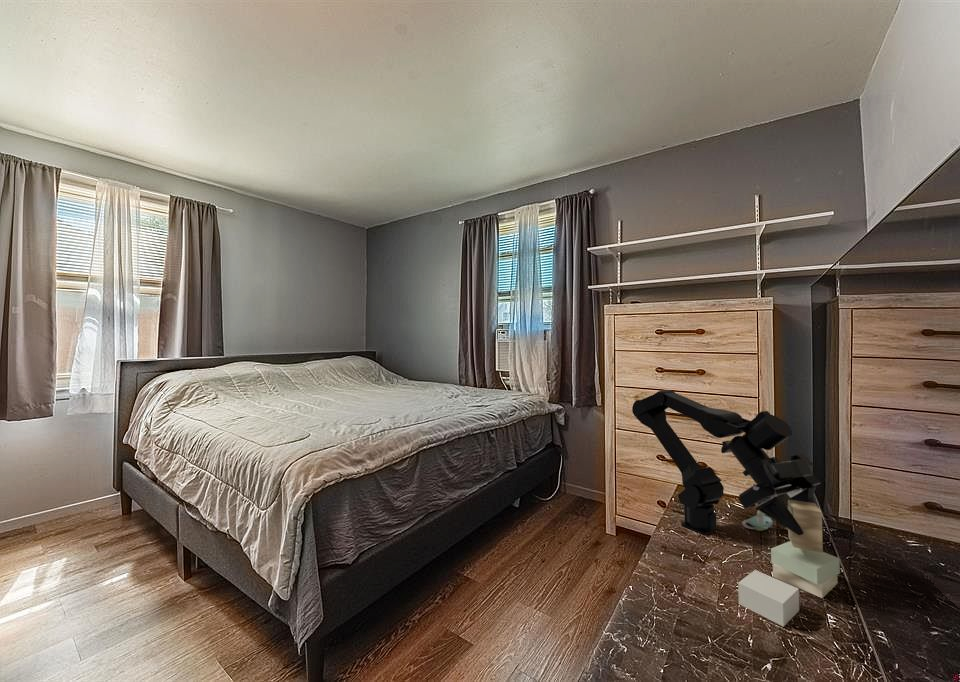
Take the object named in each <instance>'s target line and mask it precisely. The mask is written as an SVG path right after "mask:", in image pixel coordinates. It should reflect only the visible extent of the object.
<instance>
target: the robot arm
mask: <svg viewBox="0 0 960 682" xmlns="http://www.w3.org/2000/svg"><path fill="white" fill-rule="evenodd" d="M631 408H632V409H631V410H632V414H633V416H634V417H635V418H636V419H637V421H639V422H640V424H642V425H643V426H645V427H646V428H648V429H650V430H651V431H652V433H653V434H654V435H655V437H656V438H657V440H658V441H659V442H660V444H661V446H662V447H663V449H664V450H665V451H666V453H667V454H668V456H669V457H670V458H671V460H672V461H673V463H674V464H675V466H676V467H677V468H678V470H679V472H680V473H681V482H682V485H683V488H684V489H683V490H682V491H680V493H678V494H677V499H678V501H679V504H681V505H683V506H684V507H683V510H684V513H683V514H684V521H682V522H681V524H680V525H681V526H682V527H683V528H684V527H685V528H687V529H689V530H692V531H694V532H697V533H699V534H701V535H705V536H706V535H707V536H708V535H709V534H710V533H712V532H714V531H716V530H717V529H718V528H719V526H718V525H717V512H715V505H718V504H719V502H720V500H721V499H722V498H723V497H724V491H725V488H724V485H723V484H722V481H723V480H722V479H721V478H720V477H719V476H718V475H717V474H716V472H715V471H714V469H713V468H712V467H711V466H706V467H703V466H702V465H700V464H699V463H698V462H697V460H696V459H695V458H694V457H693V455H692V454H691V452H690V451H689V449H688V448H687V447H686V446H685V444H684V443H683V441H682V440H681V439H680V437H679V436H678V435H677V434H676V432H675V430H674V429H673V428H672V426H671V425H670V424H669V422H668V421H667V413H666V412H667V411H666V410H667V409H671V410H673V411H674V412H677V413H679V414H681V415H683V416H685V417H687V418H689V419H691V420H693V421H696V422H697V423H699V424H700V426H701V427H702V429H704V430H705V431H706V432H707V433H709V434H710V435H712V436H713V437H715V438H718V439H723V438H724V439H725V438H729V437H733V438H732V439H731V440H723V441H722V443H721V444H722V446H721V449H720V452H721V453H722V454H727V453H732V455H733V456H734V457H735V459H736V460H737V461H738V462H739V463H740V465H741V466H742V468H743V469H744V470H743V471H742V474H743V476H745V477H749V476H750V478H751V479H752V480H753V481H754V483H755V485H752V486H751V487H749V488H747V489H746V490H744V491H743V492H741V493H739V495H738V498H739V499H738V501H739V503H740V504H741V505H742V507H743V508H744V509H745V510H747V509H751V508H754V510H755V511H761V512H762V513H764V514H765V516H767V517H769V518H770V519H773V520H774V521H776V522H777V523H779V524H781V525H782V526H784V527H785V528H787V530H788V529H790V530H791V531H793V532H794V533H796V534H797V535H802V534H804V532H803V530H802V529H801V527H800V526H799V524H798V523H797V521H796V520H795V518H794V517H793V516H792V514H791V513H790V511H789V510H788V506H787V505H786V502H787V503H788V500H796V501H803V502H810V503H815V500H814V497H813V496H814V493H815V490H816V489H817V488H816V486H818V485H820V484H821V481H820V480H819V479H818V478H817V477H816V476H815V474H814V473H813V470H812V468H813V466H814V463H813V461H811V460H810V459H809V458H808V457H807V456H806V455H805V454H803V453H799V454H793V455H791V456H790V460H788V461H786V460H785V461H780V460H779V458H777V457H775V456H772V457H770V456H769V455H768V453H767V452H766V451H772V450H773V449H774V448H775V447H777V446H778V445H780V444H781V443H783V442H784V441H786V440H787V439H788V438H790V437H791V436H792V435H793V431H792V428H791V426H790V425H789V424H788V423H787V422H786V421H785V420H783V419H781V418H780V417H778V416H776V415H773V414H771V413H770V412H769V411H768V410H763V411H760V412H758V413H757V415H755V417H753V418H752V420H750V419H747V418H743V416H742V415H741V414H740V413H737V412H735V411H731V410H727V409H723V408H722V409H721V408H714V407H710V406H706V405H704V404H702V403H699V402H697V401H694V400H693V399H690V398H688V397H686V396H683V395H681V394H680V393H677V392H675V391H673V390H671V389H665V390H664V389H663V390H659V391H657V392H655V393H653V394H651V395H649V396H647V397H645V398H641V399H636V400H635V401H634V402H633V403H632V407H631ZM741 434H743V435H741ZM785 495H786V496H788V497H789V498H788V499H785ZM785 500H786V502H785ZM756 504H757V505H758V506H757V507H756ZM824 528H825V524H824V522H823V520H822V529H824Z"/></svg>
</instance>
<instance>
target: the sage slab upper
mask: <svg viewBox="0 0 960 682" xmlns="http://www.w3.org/2000/svg"><path fill="white" fill-rule="evenodd" d="M770 559H771V560H770V562H771V564H772V565H773V564H775V565H777V566H779V567H781V568H783V569H785V570H788V571H790V572H792V573H794V574H796V575H798V576H800V577H802V578H805V579H807V580H809V581H811V582H813V583H815V584H819V583H821V582H823V581H825V580H827V579H830V578H832V577H834V576H836V575H837V576H838V575H839V574H841V572H840V571H841V569H840V565H841V564H840V558H839V557H837V556H835V555H832V554H829V553H826V552H825V551H823V553H822V552H817V551H811V550H806V549H801V548H795V547H793V545H792V543H791V541H790V540H789V541H787V542H784V543H782V544H779V545H777V546H774V547H772V548H770Z"/></svg>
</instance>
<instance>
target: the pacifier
mask: <svg viewBox="0 0 960 682" xmlns="http://www.w3.org/2000/svg"><path fill="white" fill-rule="evenodd" d="M773 523H774V522H773V520H772V518H771V517H769V516H768V515H766V514H764V513H762V512H761V511H757V512H756V515H754V516H752V517H750V518H748V519H744V520H742V522H741V524H742V526H743V527H744V528H745V529H749V530H755V531H759V532H763V531H765V530H768V528H771V527H772V526H773ZM748 524H749V525H748Z"/></svg>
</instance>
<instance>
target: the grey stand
mask: <svg viewBox="0 0 960 682" xmlns="http://www.w3.org/2000/svg"><path fill="white" fill-rule="evenodd" d="M737 587H738V590H737V592H738V605H741V606H742V607H744V608H746V609H748V610H750V611H752V612H754V613H756V614H758V615H759V616H761V617H764V618H766V619H767V620H769V621H772V622H774V623H775V624H777V625H779V626H781V627H783V628H784V627H785V626H786V625H787V624H788V623H789V622H790V621H791V620H792V619H793V618H794V617H795V616H796V615H797V614H798V613H799V611H800V588H798V587H795V586H793V585H791V584H788V583H786V582H784V581H782V580H779V579H777V578H775V577H772V576H770V575H768V574H765V573H763V572H761V571H759V570H756V569H754V570H753V571H751V572H750V573H749V574H748V575H745V577H744V578H742V580H740V581H738V584H737Z"/></svg>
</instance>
